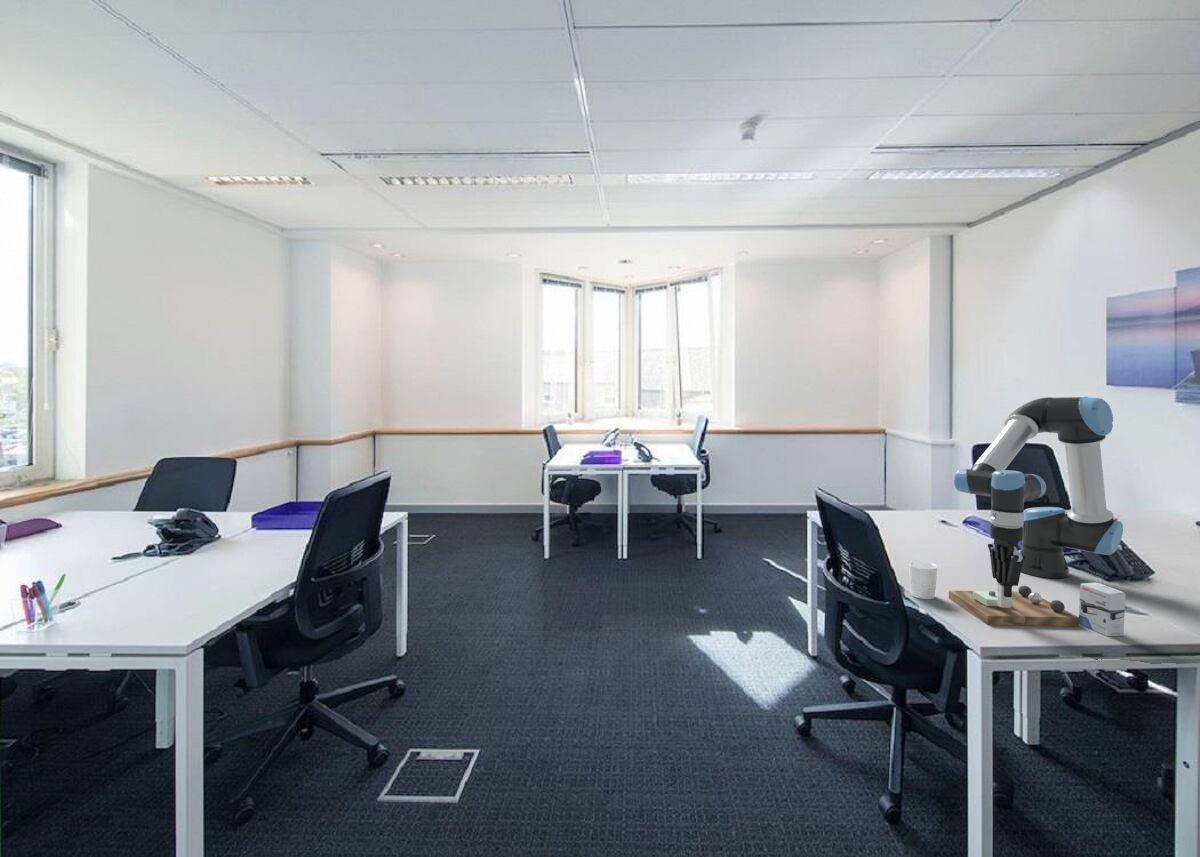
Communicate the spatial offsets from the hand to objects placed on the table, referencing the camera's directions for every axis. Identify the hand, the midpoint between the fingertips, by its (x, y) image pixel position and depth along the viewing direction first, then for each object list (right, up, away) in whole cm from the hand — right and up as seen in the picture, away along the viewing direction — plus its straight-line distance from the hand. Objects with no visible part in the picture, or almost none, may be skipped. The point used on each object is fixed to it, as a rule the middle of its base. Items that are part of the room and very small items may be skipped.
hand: (1004, 606), depth 159 cm
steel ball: (+12, +1, +4) cm, 13 cm away
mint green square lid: (0, 0, +6) cm, 6 cm away
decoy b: (+14, +1, -2) cm, 14 cm away
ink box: (+20, -4, -8) cm, 22 cm away
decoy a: (+14, +1, +10) cm, 17 cm away
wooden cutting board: (+5, -3, +5) cm, 8 cm away
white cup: (-13, -3, +19) cm, 23 cm away
